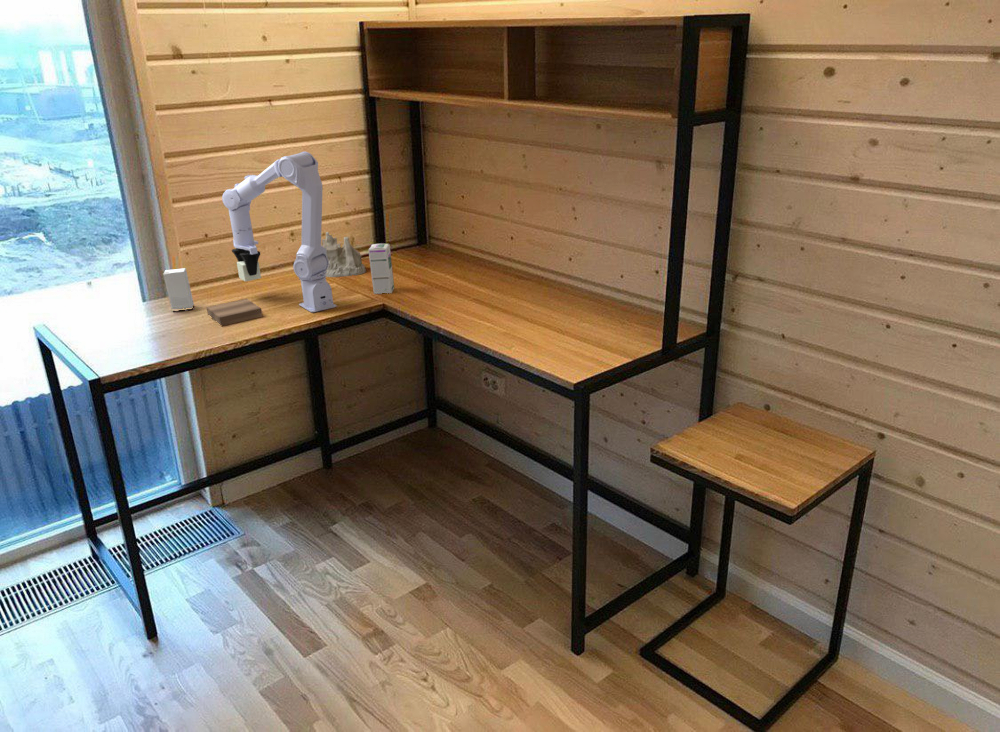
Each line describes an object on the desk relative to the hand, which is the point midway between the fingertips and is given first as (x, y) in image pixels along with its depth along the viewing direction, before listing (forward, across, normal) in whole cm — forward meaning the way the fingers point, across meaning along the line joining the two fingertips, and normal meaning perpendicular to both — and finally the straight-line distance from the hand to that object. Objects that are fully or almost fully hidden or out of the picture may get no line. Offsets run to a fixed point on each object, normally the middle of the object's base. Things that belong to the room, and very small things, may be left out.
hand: (249, 273), depth 242 cm
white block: (+2, 0, 0) cm, 2 cm away
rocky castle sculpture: (+9, +9, -35) cm, 37 cm away
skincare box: (+8, +5, +20) cm, 22 cm away
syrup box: (+9, -22, -34) cm, 41 cm away
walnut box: (+9, -12, +10) cm, 18 cm away
